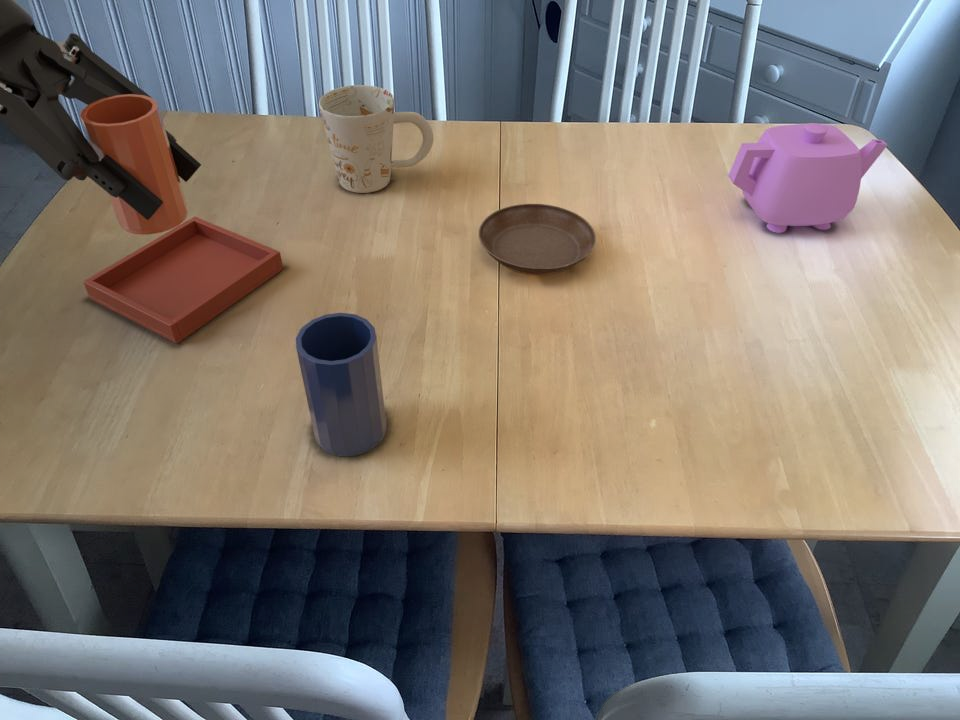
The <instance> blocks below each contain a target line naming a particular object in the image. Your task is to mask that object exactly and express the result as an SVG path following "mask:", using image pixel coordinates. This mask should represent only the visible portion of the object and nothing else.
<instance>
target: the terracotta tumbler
mask: <svg viewBox="0 0 960 720" xmlns="http://www.w3.org/2000/svg"><path fill="white" fill-rule="evenodd" d="M150 97H151V96H150ZM150 97H148V96H145V95H135V94H126V95H116V96H111V97H107V98H103V99H100V100H98V101H95V102H93V103H91V104H89V105H86V106H85V107H83V108H82V110H81V112H80V114H79V117H80V120H81V123H82V126H83V129H84V131H85V134H86V138H87V141H88V142H89V144H90V145H91V146H92V148H93V149H94V150H95V152H96V153H97V155H98V156H99V161H101V160H102V158H103V157H105V156H106V155H109V156H110V157H111V158H112V159H113V160H114V161H116V162H117V163H118V164H119V165H120V166H122V167H123V168H124V169H125V170H126V171H128V172H129V173H130V174H131V175H132V176H133V177H135V178H136V179H137V180H138V181H139V182H141V183H142V184H143V185H144V186H145V187H147V188H148V189H149V190H150V191H151V192H152V193H154V194H155V195H156V196H157V197H158V198H160V199H161V200H162V201H163V202H164V203H163V204H162V205H161V206H160V207H159V208H158V210H157V211H156V212H155V213H154V214H153V216H152V217H151V218H150V219H149V220H147V219H146V218H144V217H143V216H142V215H141V214H140V213H138V212H137V211H136V210H135V209H133V208H132V207H131V206H130V205H129V204H127V203H126V202H125V201H124V200H123V199H121V198H120V197H119V196H118V197H117V198H116V197H114V196H111V195H110V194H109V193H108V192H107V195H108V197H109V201H110V203H111V206H112V209H113V211H114V215H115V217H116V219H117V221H118V224H119V226H120V227H121V229H122V230H124V231H125V232H126V233H129V234H133V235H142V236H143V235H145V236H146V235H156V234H159V233H160V234H161V233H164V232H166V231H167V232H168V231H171V230H172V229H174V228H176V227H177V226H179V225H181V224H183V223H184V221H186V219H187V217H188V213H189V209H188V203H187V201H186V197H185V194H184V189H183V186H182V183H181V178H180V177H179V176H178V172H177V169H176V165H175V162H174V158H173V155H172V151H171V148H170V144H169V141H168V137H167V134H166V130H167V129H166V128H165V127H166V126H165V124H164V123H165V122H164V121H163V118H162V117H163V116H162V113H161V110H160V106H159V103H158V102H157V101H156V100H155V99H154V98H153V97H152V98H150ZM165 129H166V130H165Z"/></svg>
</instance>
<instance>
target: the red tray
mask: <svg viewBox="0 0 960 720" xmlns="http://www.w3.org/2000/svg"><path fill="white" fill-rule="evenodd" d="M283 265H284V264H283V260H282V256H281V251H279V250H276V249H274V248H272V247H270V246H267V245H264V244H262V243H259V242H257V241H256V240H253V239H250V238H247V237H245V236H243V235H241V234H238V233H235V232H234V231H231V230H229V229H227V228H224V227H221V226H219V225H216V224H215V223H212V222H210V221H207V220H205V219H202V218H200V217H198V216H193V217H191V218H190V219H187V220H185V222H184V221H183V222H182V223H180V224H179V225H178V226H176V227H174V228H172V229H170V230H168V231H167V232H166V233H163V234H162V235H160V236H159V237H157V238H155V239H153V240H151V241H150V242H148V243H147V244H145V245H143V246H141V247H140V248H138V249H136V250H135V251H133V252H131V253H130V254H127V255H126V256H124V257H122V258H120V259H119V260H117V261H116V262H114V263H112V264H110V265H109V266H107V267H105V268H104V269H102V270H101V271H98V272H97V273H95V274H93V275H91V276H90V277H88V278H87V279H85V280H83V281H82V282H83V283H82V284H83V285H84V287H85V290H86V293H87V295H88V297H89V300H91V301H93V302H95V303H97V304H98V305H101V306H102V307H104V308H107V309H109V310H110V311H112V312H115V313H116V314H118V315H120V316H122V317H124V318H126V319H127V320H130V321H132V322H133V323H135V324H137V325H139V326H140V327H143V328H145V329H147V330H149V331H151V332H152V333H154V334H156V335H158V336H160V337H163V338H165V339H166V340H168V341H170V342H172V343H174V344H176V345H178V344H179V343H180V342H182V341H183V340H185V339H186V338H187V337H189V336H190V335H192V334H193V333H194V332H196V331H197V330H199V329H200V328H202V327H203V326H205V325H206V324H207V323H209V322H210V321H212V320H213V319H215V317H217V316H219V315H220V314H222V313H223V312H224V311H226V310H227V309H229V308H230V307H232V305H234V304H236V303H238V302H239V301H240V300H241V299H243V298H245V297H246V296H247V295H248V294H250V293H252V292H253V291H254V290H256V289H257V288H259V287H260V286H261V285H263V284H264V283H266V282H267V281H269V280H270V279H271V278H273V277H274V276H276V275H277V274H278V273H280V272H281V271H282V270H284V266H283Z"/></svg>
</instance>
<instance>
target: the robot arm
mask: <svg viewBox="0 0 960 720" xmlns="http://www.w3.org/2000/svg"><path fill="white" fill-rule="evenodd" d="M72 78H73V79H72ZM126 94H135V95H145V96H148V97H150V98H153V97H152V96H151V95H149V94H148V93H147V92H146V91H144V90H143V89H141V88H140V87H139V86H138V85H136V84H135V83H134V82H133V81H131V79H129V78H127V77H126V76H125V75H123V74H122V73H121V72H119V71H118V70H117V69H116V68H114V67H113V66H112V65H111V64H109V63H108V62H107V61H106V60H104V59H102V57H100V56H99V55H97V53H95V52H94V51H93V50H92V49H91V48H90V47H89V46H88V45H87V43H86V42H85V41H84V40H83V38H81V37H80V36H79V35H78V34H76V33H70V34H69V35H68V36H67V38H66V39H65V40H61V41H57V42H56V41H55V40H53V39H51V38H50V37H47V36H45V35H44V34H42V33H41V32H39V30H38V29H37V28H36V25H35V22H34V19H33V17H32V16H31V14H29V13H28V12H27V11H26V10H25V9H24V8H23V7H22V6H20V5H19V4H18V3H17V2H16V1H15V0H0V121H1V122H3V124H4V125H6V126H7V127H8V129H10V130H11V131H12V132H13V133H14V135H16V136H17V137H18V138H19V140H21V141H23V143H25V144H26V146H27V147H29V148H30V149H31V150H32V151H33V152H34V153H35V154H36V155H37V156H38V157H39V158H40V159H41V160H42V161H43V162H44V163H45V164H46V165H47V166H49V168H51V169H52V170H53V171H54V173H56V175H58V176H59V177H60V178H61V179H63V180H64V181H71V180H72V179H73V178H75V179H77V181H78V180H79V181H85V180H86V179H87V178H88V179H90V180H92V181H93V182H94V183H95V184H96V185H98V187H100V188H101V189H102V190H103V191H105V192H106V193H107V194H108V193H109V194H110V195H111V196H114V197H116V198H117V197H118V196H119V197H120V198H121V199H123V200H124V201H125V202H126V203H127V204H129V205H130V206H131V207H132V208H133V209H135V210H136V211H137V212H138V213H140V214H141V215H142V216H143V217H144V218H146V219H147V220H149V219H150V218H151V217H152V216H153V214H154V213H155V212H156V211H157V210H158V208H159V207H160V206H161V205H162V204H163V203H164V202H163V201H162V200H161V199H160V198H158V197H157V196H156V195H155V194H154V193H152V192H151V191H150V190H149V189H148V188H147V187H145V186H144V185H143V184H142V183H141V182H139V181H138V180H137V179H136V178H135V177H133V176H132V175H131V174H130V173H129V172H128V171H126V170H125V169H124V168H123V167H122V166H120V165H119V164H118V163H117V162H116V161H114V160H113V159H112V158H111V157H110V156H109V155H106V156H105V157H103V158H102V160H101V161H99V156H98V155H97V153H96V152H95V150H94V149H93V148H92V146H91V145H90V143H89V140H88V138H87V137H86V136H85V135H84V134H83V132H82V130H80V128H79V127H78V125H77V124H76V122H75V121H74V120H73V119H72V117H71V115H70V114H69V113H68V111H67V110H66V108H65V107H64V106H63V104H62V103H61V102H60V100H59V99H60V97H59V96H63V97H65V98H66V99H69V100H72V99H76V100H78V101H80V102H82V103H83V104H85V105H86V106H88V105H89V104H91V103H93V102H95V101H98V100H100V99H103V98H107V97H111V96H116V95H126ZM165 130H166V134H167V137H168V141H169V144H170V148H171V151H172V155H173V158H174V162H175V165H176V169H177V172H178V176H179V178H180V179H181V180H183V181H184V182H185V183H187V182H188V181H189V180H190V179H191V178H192V177H193V175H194V174H195V173H196V172H197V171H198V170H199V169H200V167H202V164H201V163H200V162H199V161H198V160H197V159H196V158H195V157H194V156H192V155H191V154H190V153H189V152H188V151H187V150H186V149H185V148H184V147H182V145H180V144H179V143H178V142H177V139H176V137H175V136H174V135H173V134H171V132H169V131H168V130H167V129H166V128H165Z"/></svg>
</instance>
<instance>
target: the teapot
mask: <svg viewBox="0 0 960 720" xmlns="http://www.w3.org/2000/svg"><path fill="white" fill-rule="evenodd" d="M887 147H888V143H887V142H885V140H883V139H875V138H874V139H873V138H872V139H871V140H870V141H869V142H868V143H866V144H865V145H863V146H862V147H861V148H859V147H858V146H857V145H856V144H855V142H854V141H853V140H851V139H850V137H848V136H847V134H845V133H844V132H843V131H842V130H841V129H839V127H837V126H835V125H831V124H825V123H817V122H808V123H794V124H785V125H776V126H771V127H769V128H766V129H765V130H764V131H763V133H762V134H761V135H760V137H759V138H758V139H757V141H756V142H742V143H741V144H740V147H739V149H738V152H737V154H736V156H735V159H734V161H733V164H732V166H731V168H730V170H729V173H728V175H727V177H728V179H729V180H730V182H731V183H732V184H733V185H734V186H736V187H737V188H739V189H740V190H741V191H742V195H743V196H744V198H745V200H746V201H747V203H748V205H749V206H750V208H751V209H752V211H754V213H755V214H756V216H758V217H759V218H760V219H761V220H762V221H763V222H765V223H766V228H767V229H768V231H770V232H773V233H777V234H781V233H782V234H783V233H785V232H786V231H787V228H788V226H791V227H792V226H793V227H802V226H803V227H805V226H808V227H809V226H812V227H813V228H815V229H816V230H817V229H818V230H821V231H826V230H830V229H831V223H836V222H839V221H842V220H844V219H845V218H847V216H848V215H849V214H850V213H851V212H852V211H853V210H854V208H855V206H856V204H857V200H858V197H859V194H860V188H861V182H862V179H863V178H864V176H865V175H866V173H867V172H868V171H869V169H870V168H871V167H872V166H873V165H874V163H875V162H876V161H877V160H878V158H880V156H881V154H882V153H883V152H884V150H885V149H886V148H887Z"/></svg>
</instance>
